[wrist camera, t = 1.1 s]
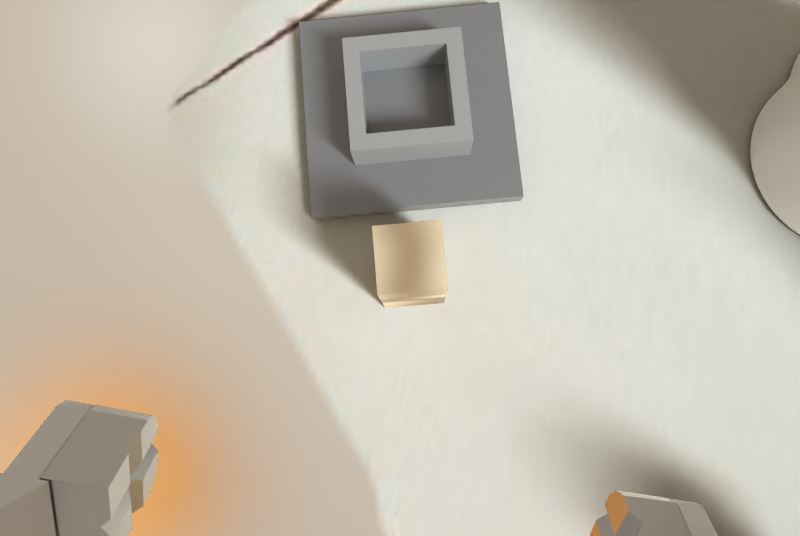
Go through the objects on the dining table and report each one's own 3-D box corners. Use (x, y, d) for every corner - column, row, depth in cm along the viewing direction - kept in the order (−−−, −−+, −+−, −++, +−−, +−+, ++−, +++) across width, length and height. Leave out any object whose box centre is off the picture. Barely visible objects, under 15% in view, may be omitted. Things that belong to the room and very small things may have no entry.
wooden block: (437, 245, 46) (441, 219, 38) (443, 302, 45) (448, 288, 37) (380, 250, 46) (371, 225, 38) (385, 308, 45) (377, 294, 37)
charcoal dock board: (497, 11, 49) (504, -23, 45) (520, 200, 46) (530, 183, 42) (301, 30, 49) (290, -2, 45) (313, 219, 46) (303, 204, 42)
